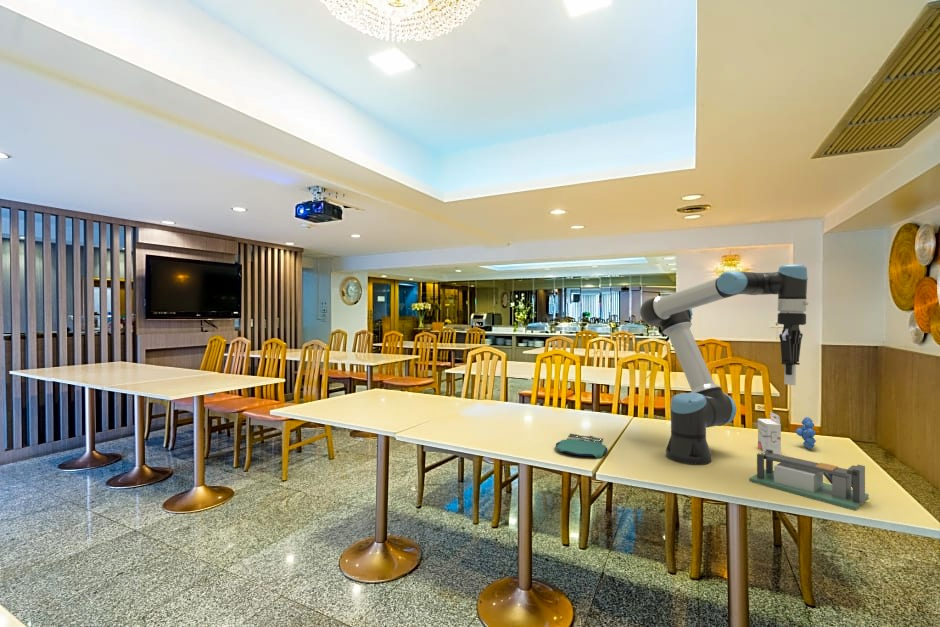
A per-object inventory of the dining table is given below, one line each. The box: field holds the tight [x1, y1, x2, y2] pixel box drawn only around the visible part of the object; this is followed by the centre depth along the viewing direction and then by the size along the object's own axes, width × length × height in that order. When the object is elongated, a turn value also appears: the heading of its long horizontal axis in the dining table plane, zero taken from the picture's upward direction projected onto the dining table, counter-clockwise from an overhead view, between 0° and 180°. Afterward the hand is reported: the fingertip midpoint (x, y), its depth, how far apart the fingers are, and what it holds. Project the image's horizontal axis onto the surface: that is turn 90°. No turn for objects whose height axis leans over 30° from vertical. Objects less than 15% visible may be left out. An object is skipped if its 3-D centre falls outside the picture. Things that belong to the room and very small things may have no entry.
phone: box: [823, 472, 853, 489], centre depth 142 cm, size 8×1×15 cm
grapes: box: [795, 416, 817, 450], centre depth 175 cm, size 12×7×12 cm, turn 153°
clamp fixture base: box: [748, 449, 870, 511], centre depth 133 cm, size 26×14×10 cm, turn 37°
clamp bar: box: [760, 451, 850, 477], centre depth 134 cm, size 22×5×2 cm, turn 37°
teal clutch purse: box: [555, 433, 609, 459], centre depth 176 cm, size 20×30×2 cm, turn 157°
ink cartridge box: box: [757, 411, 782, 455], centre depth 170 cm, size 9×5×15 cm, turn 168°
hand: (789, 384), depth 143 cm, fingers closed
